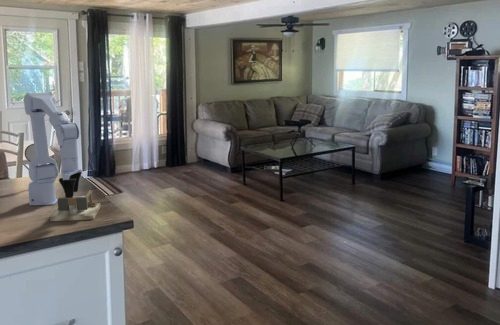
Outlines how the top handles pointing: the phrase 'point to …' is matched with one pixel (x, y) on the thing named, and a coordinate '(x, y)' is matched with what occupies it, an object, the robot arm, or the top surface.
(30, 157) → the magnifying glass
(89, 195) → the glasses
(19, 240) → the top surface
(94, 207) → the stand
